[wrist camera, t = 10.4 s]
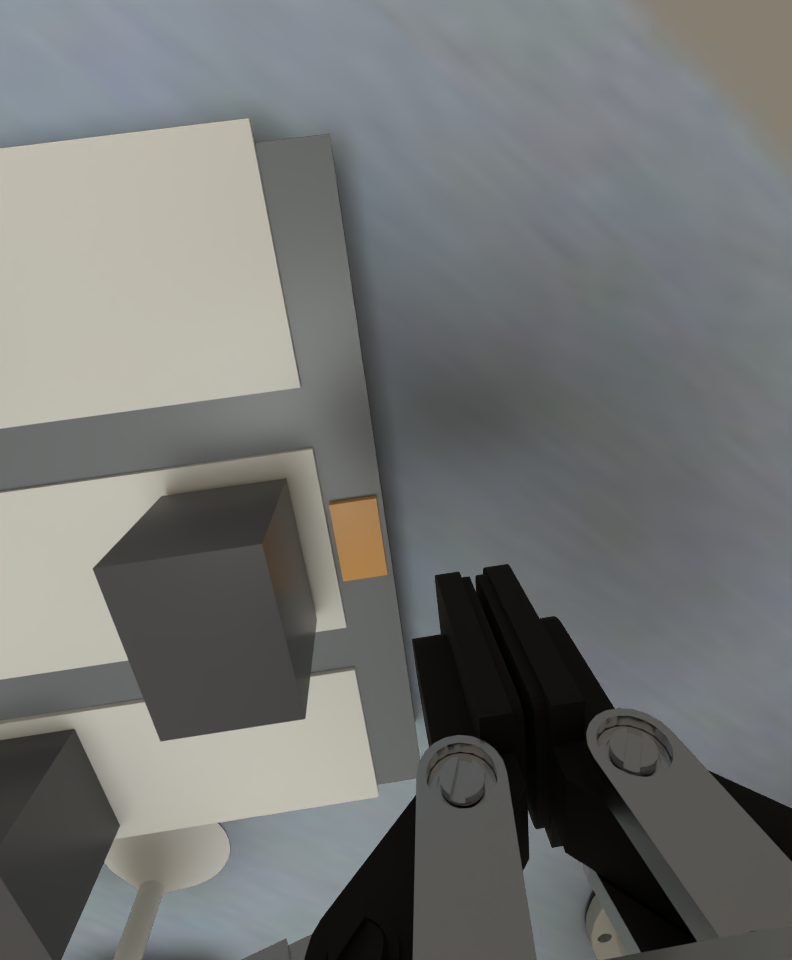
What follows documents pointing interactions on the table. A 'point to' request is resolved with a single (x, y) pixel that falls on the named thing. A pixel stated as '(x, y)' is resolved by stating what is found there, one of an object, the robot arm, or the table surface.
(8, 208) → the breaker panel
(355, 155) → the table surface
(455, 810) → the robot arm
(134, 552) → the block
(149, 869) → the champagne flute
